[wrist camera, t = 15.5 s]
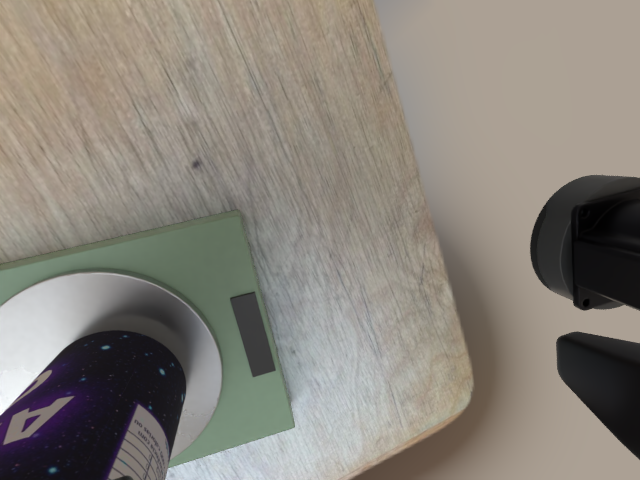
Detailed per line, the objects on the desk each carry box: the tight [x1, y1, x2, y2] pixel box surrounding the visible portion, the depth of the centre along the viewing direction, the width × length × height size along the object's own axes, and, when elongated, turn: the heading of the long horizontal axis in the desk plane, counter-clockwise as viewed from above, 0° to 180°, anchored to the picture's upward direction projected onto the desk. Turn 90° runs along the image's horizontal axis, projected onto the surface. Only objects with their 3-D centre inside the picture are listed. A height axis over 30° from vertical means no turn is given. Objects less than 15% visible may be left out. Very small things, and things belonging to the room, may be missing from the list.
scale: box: [0, 210, 295, 468], centre depth 18 cm, size 14×12×3 cm
